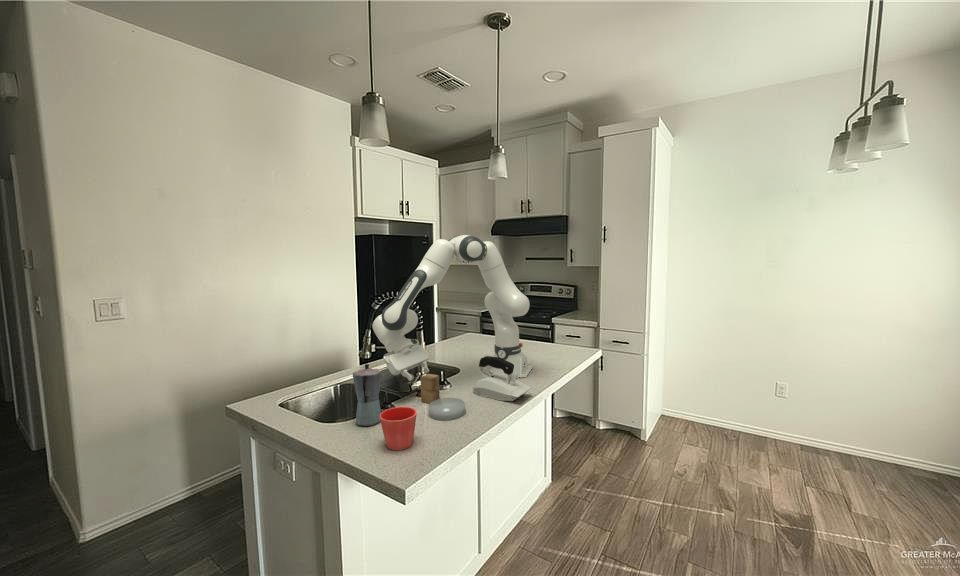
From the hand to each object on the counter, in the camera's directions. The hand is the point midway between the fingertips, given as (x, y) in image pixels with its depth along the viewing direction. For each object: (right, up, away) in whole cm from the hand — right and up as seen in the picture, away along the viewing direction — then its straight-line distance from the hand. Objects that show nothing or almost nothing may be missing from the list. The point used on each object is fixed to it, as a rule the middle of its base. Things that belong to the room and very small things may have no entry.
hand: (419, 375), depth 150 cm
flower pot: (-1, -13, -34) cm, 37 cm away
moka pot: (-15, -12, -18) cm, 26 cm away
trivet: (+12, -10, -13) cm, 20 cm away
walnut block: (+4, -10, -2) cm, 11 cm away
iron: (+31, -9, +3) cm, 33 cm away
